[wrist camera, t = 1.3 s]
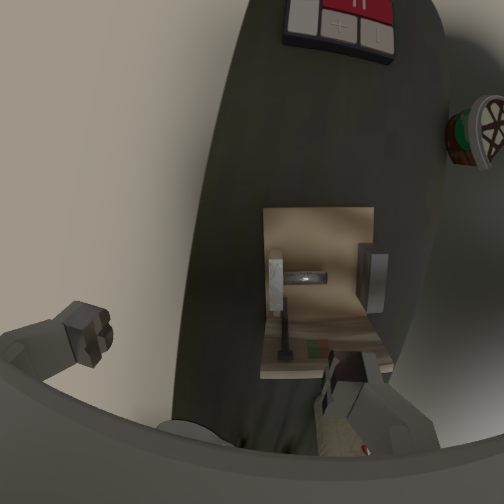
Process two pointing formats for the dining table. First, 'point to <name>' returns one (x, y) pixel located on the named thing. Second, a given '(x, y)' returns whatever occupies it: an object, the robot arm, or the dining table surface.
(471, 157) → the food container
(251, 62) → the dining table surface
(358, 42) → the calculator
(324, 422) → the aerosol can
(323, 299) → the gauge frame
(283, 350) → the dark bent bar
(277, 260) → the slab with metal rod
